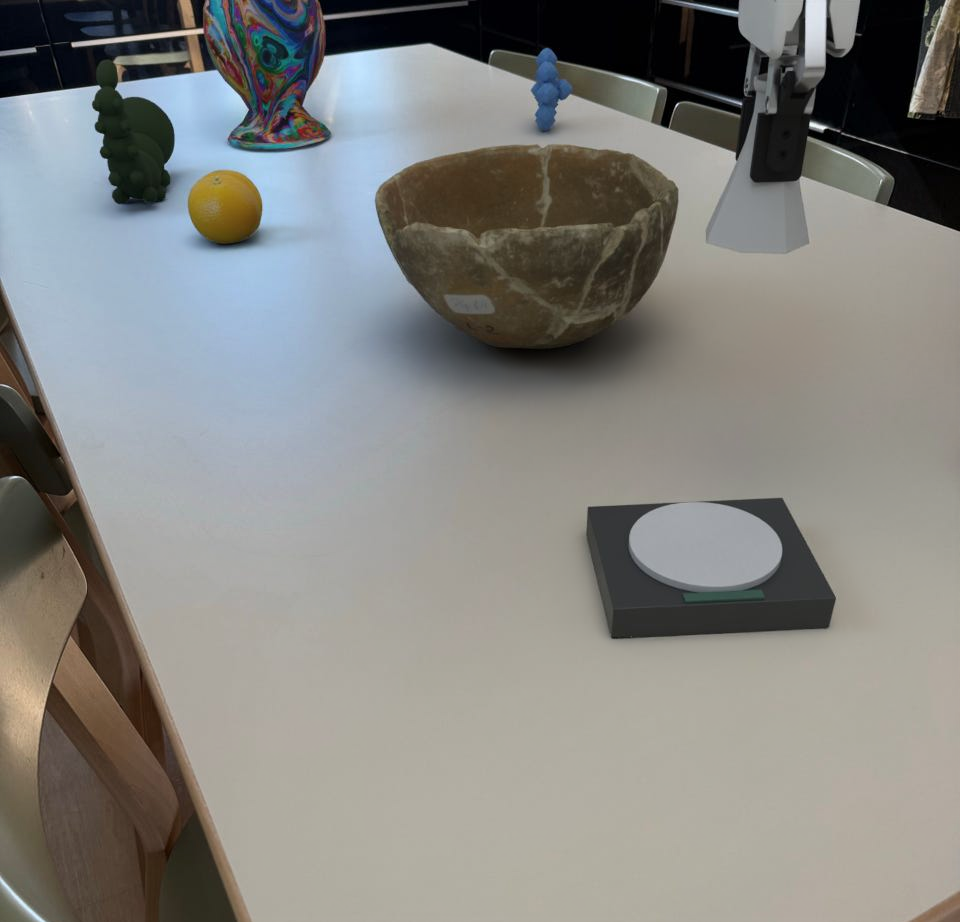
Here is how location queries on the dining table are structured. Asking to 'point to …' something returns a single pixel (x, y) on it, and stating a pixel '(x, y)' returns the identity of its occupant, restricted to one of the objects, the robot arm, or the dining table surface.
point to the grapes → (548, 89)
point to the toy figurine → (132, 140)
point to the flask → (758, 204)
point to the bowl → (529, 238)
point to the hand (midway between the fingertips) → (766, 168)
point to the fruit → (225, 206)
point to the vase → (269, 66)
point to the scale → (705, 568)
